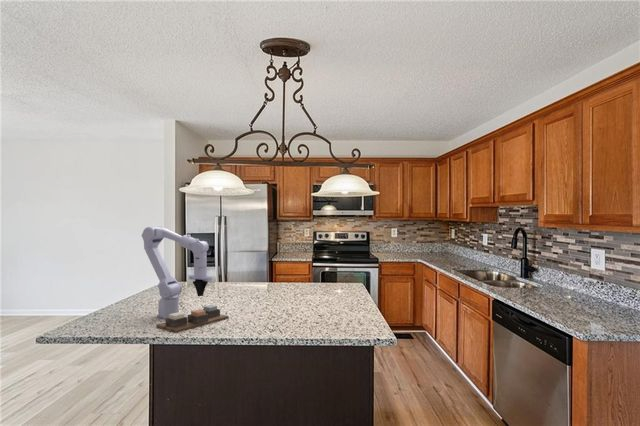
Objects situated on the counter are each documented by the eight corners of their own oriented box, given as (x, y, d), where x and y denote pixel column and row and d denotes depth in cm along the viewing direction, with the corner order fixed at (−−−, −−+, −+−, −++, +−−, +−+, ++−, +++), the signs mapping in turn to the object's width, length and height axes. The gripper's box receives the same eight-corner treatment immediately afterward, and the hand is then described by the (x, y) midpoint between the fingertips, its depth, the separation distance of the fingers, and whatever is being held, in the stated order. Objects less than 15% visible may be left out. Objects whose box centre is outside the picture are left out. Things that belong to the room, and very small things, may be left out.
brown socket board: (156, 326, 164) (156, 317, 164) (209, 313, 187) (209, 305, 187) (175, 332, 156) (175, 323, 156) (228, 318, 179) (228, 309, 179)
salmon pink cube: (190, 319, 170) (191, 311, 170) (199, 317, 173) (199, 309, 173) (197, 320, 167) (197, 312, 167) (205, 318, 171) (205, 310, 171)
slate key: (203, 313, 179) (203, 306, 179) (211, 312, 182) (211, 304, 182) (209, 315, 176) (209, 307, 176) (217, 313, 180) (217, 306, 180)
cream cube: (168, 322, 164) (168, 314, 164) (177, 320, 168) (177, 312, 168) (174, 324, 161) (174, 315, 161) (183, 321, 165) (183, 313, 165)
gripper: (183, 266, 180) (183, 295, 180) (203, 268, 172) (203, 299, 172) (196, 265, 186) (196, 293, 186) (215, 267, 177) (215, 296, 177)
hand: (200, 295), depth 179 cm, fingers closed
